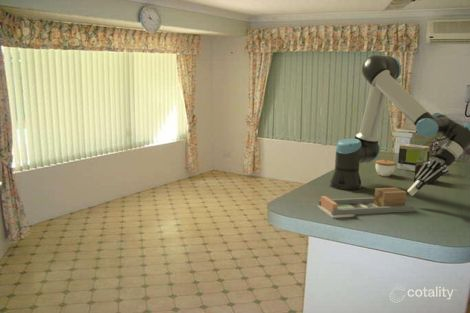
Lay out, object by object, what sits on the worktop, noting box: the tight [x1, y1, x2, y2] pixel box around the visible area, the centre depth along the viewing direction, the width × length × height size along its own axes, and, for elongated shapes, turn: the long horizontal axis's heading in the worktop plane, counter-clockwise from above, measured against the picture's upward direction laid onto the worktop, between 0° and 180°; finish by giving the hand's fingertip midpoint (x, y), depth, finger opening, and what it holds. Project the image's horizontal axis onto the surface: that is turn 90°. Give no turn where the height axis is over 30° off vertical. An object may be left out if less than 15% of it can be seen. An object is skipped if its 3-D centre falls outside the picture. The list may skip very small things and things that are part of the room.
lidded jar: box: [374, 158, 397, 177], centre depth 232 cm, size 11×11×9 cm
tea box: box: [397, 143, 431, 172], centre depth 248 cm, size 15×10×15 cm
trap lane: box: [317, 195, 416, 219], centre depth 170 cm, size 14×36×5 cm, turn 103°
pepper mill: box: [413, 146, 442, 185], centre depth 222 cm, size 16×11×18 cm
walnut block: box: [373, 187, 407, 207], centre depth 172 cm, size 7×10×7 cm
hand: (409, 193), depth 174 cm, fingers closed
